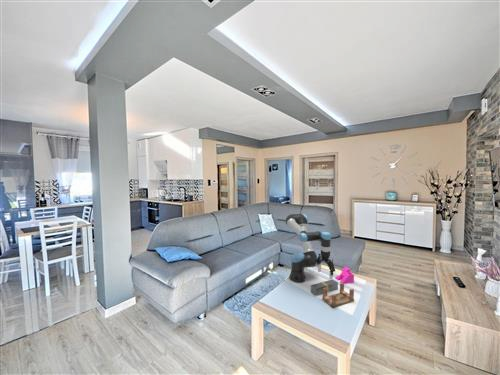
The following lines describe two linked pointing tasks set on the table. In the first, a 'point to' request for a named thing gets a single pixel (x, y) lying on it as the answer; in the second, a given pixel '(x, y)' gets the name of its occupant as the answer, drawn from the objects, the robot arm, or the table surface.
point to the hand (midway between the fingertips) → (325, 275)
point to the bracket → (346, 276)
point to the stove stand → (338, 297)
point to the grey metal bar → (329, 284)
